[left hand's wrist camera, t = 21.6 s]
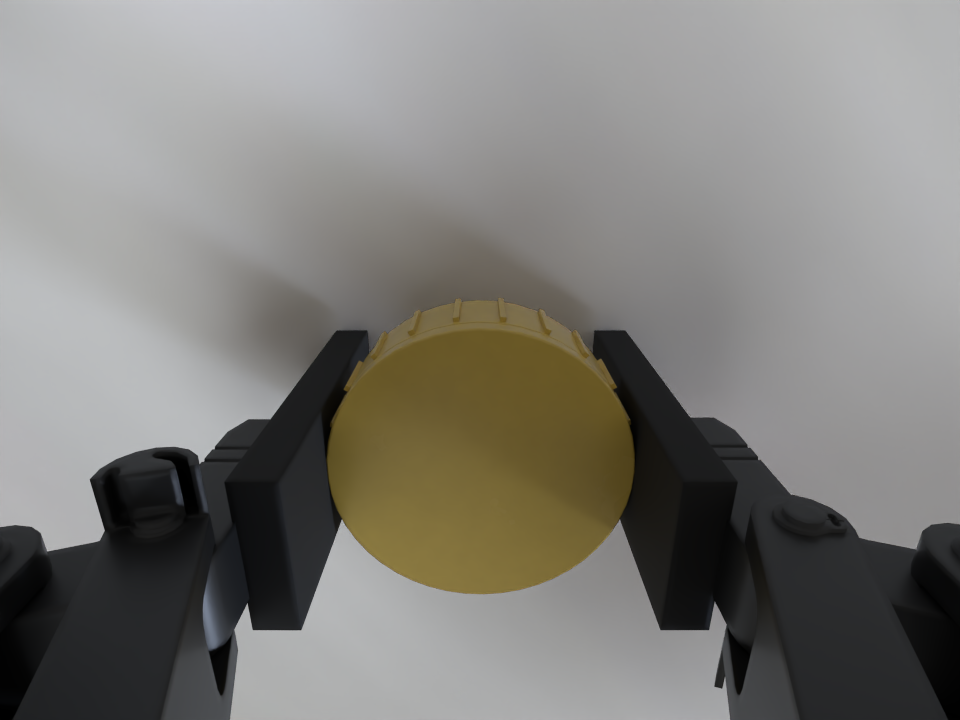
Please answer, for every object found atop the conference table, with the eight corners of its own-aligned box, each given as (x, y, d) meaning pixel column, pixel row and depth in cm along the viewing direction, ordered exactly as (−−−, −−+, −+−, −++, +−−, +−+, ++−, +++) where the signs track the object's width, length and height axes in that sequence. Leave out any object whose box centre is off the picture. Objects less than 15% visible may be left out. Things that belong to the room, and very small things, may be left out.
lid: (377, 553, 13) (362, 613, 12) (312, 318, 11) (284, 350, 9) (624, 522, 13) (646, 580, 11) (607, 274, 11) (629, 300, 9)
